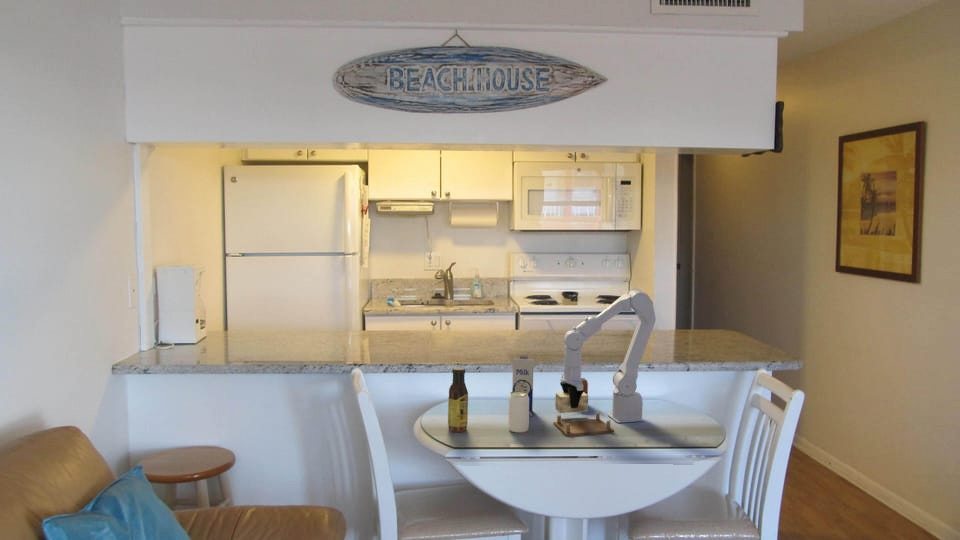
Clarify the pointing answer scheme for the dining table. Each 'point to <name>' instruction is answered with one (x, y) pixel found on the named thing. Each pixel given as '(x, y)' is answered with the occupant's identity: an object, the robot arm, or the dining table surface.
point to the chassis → (583, 426)
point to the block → (565, 407)
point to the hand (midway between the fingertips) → (571, 405)
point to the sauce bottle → (458, 402)
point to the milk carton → (524, 378)
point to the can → (518, 412)
